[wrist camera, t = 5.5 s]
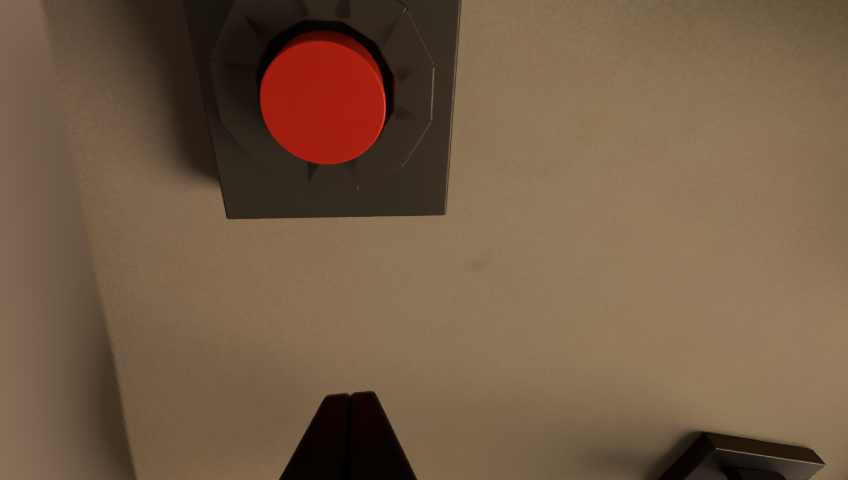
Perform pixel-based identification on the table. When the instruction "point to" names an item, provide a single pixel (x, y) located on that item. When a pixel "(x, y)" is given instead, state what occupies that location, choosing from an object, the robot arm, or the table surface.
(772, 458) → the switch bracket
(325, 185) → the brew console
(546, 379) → the table surface
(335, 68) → the stop button
